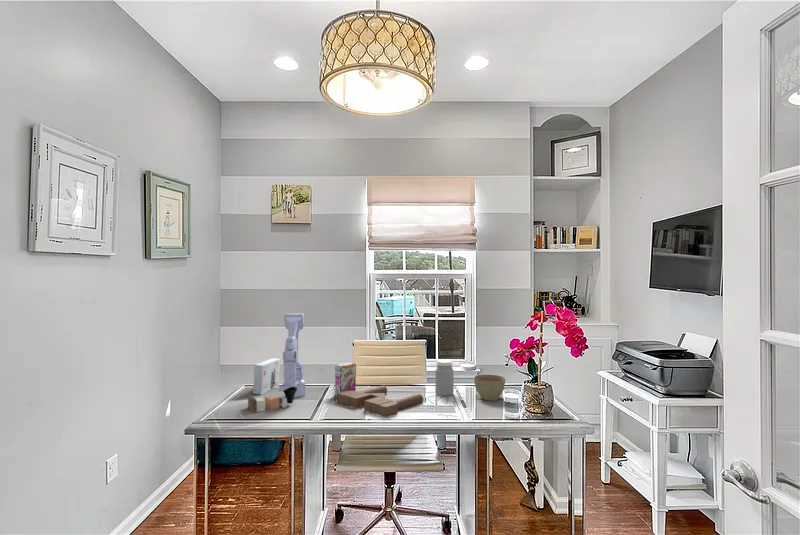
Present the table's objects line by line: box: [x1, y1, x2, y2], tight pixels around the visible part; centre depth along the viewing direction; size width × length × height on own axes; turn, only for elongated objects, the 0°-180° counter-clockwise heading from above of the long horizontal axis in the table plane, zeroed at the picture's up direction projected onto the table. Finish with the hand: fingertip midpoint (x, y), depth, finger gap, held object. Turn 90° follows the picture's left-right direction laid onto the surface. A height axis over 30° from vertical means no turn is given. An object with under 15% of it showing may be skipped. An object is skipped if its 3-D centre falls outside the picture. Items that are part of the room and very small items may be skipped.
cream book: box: [254, 397, 266, 413], centre depth 220 cm, size 4×6×5 cm, turn 30°
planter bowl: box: [473, 374, 506, 401], centre depth 244 cm, size 16×16×11 cm
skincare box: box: [252, 357, 281, 396], centre depth 260 cm, size 21×6×16 cm, turn 168°
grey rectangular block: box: [278, 394, 288, 409], centre depth 225 cm, size 2×6×4 cm, turn 30°
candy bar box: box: [334, 362, 357, 397], centre depth 250 cm, size 11×5×16 cm, turn 139°
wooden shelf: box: [247, 394, 257, 414], centre depth 223 cm, size 18×10×7 cm, turn 120°
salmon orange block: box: [264, 395, 280, 411], centre depth 223 cm, size 4×6×5 cm, turn 47°
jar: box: [434, 359, 455, 397], centre depth 251 cm, size 10×10×18 cm
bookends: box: [336, 385, 424, 418], centre depth 234 cm, size 35×6×29 cm
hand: (289, 402), depth 227 cm, fingers closed
